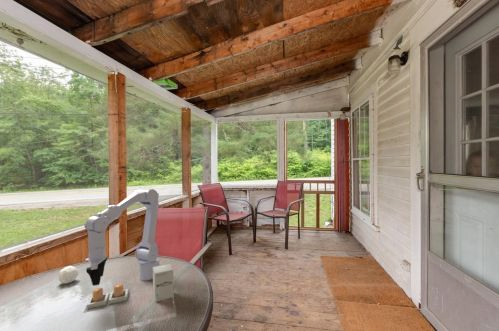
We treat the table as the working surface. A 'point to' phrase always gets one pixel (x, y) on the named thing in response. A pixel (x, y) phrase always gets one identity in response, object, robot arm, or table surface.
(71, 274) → the ball
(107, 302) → the housing
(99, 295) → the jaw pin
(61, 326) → the table surface
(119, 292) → the jaw pin
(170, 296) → the supplement box
